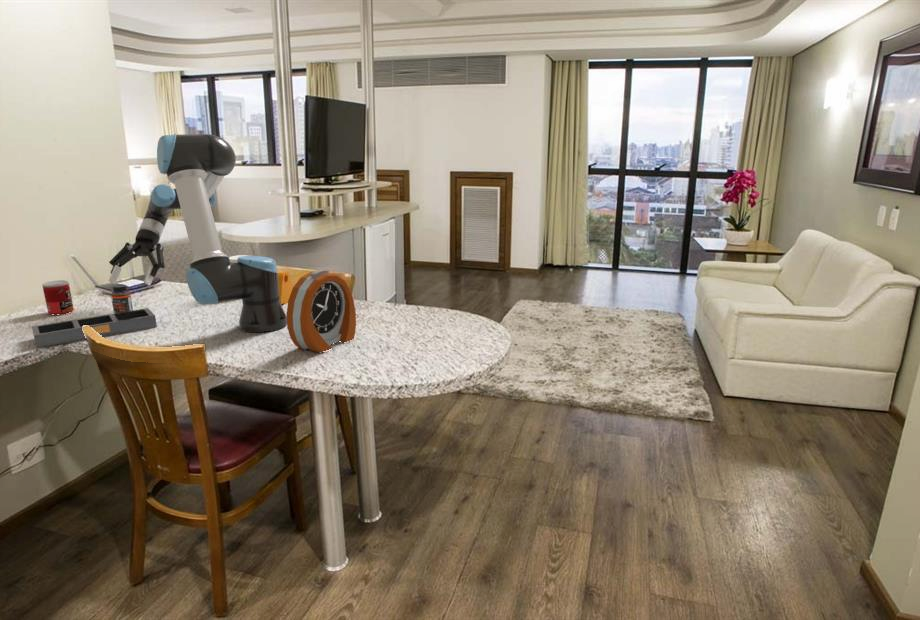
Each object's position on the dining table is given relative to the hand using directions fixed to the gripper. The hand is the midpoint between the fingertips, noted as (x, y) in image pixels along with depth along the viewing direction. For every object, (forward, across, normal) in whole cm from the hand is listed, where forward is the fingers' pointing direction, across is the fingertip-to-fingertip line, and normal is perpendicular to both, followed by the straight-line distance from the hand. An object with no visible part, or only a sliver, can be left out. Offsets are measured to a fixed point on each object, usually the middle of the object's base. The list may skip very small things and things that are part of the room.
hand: (129, 283), depth 212 cm
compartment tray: (+24, -4, +9) cm, 26 cm away
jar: (-12, -28, -27) cm, 41 cm away
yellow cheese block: (-6, -47, -21) cm, 51 cm away
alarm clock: (+24, -81, +9) cm, 85 cm away
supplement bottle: (+12, -1, -3) cm, 12 cm away
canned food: (+11, +25, -5) cm, 28 cm away
